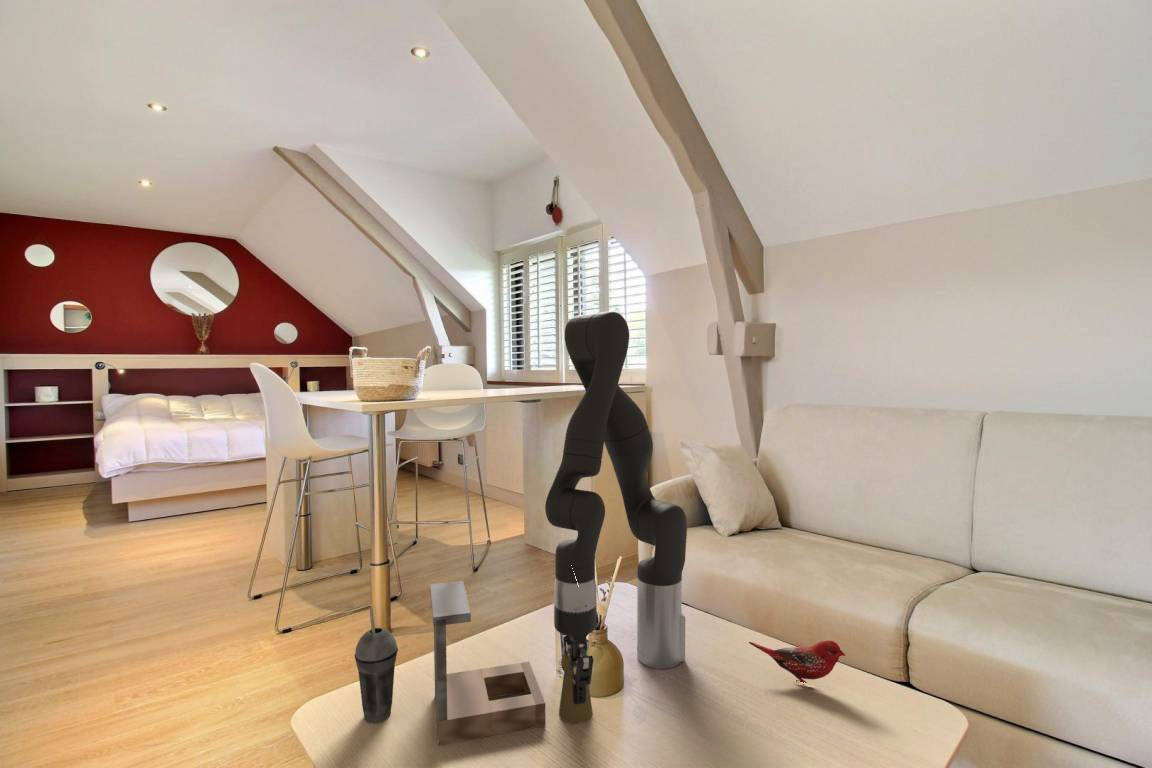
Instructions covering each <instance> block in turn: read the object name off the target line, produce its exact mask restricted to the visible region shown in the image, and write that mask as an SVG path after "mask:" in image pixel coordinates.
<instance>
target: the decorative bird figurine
mask: <svg viewBox="0 0 1152 768" xmlns="http://www.w3.org/2000/svg"><path fill="white" fill-rule="evenodd" d="M748 644H749V645H752V646H753V647H754V648H756V649H758V650H759V651H761V652H763V653H765V654H767V655H768V656H770V658H771V659H772V660H774V661H775V663H776V664H777V665H778V666H779V667H780V668H782V669H784V670H785V671H787V672H788V673H790V674H792V675H793V676H794V677H795V678H796V679H795V680H796V682H797V681H800V682H803V683H804V682H805V683H808V682H807V681H806V680H818V679H822V678H824V677H826V676H828V675H829V674H830V673H831V672H832V671H833V669H834V668H835V666H836V664H837V663H838V662H839V659H840V657H843V656H844V657H847V655H846V654H845V653H844V652H843V650H842V649H841V647H840V646H839V644H838V643H837V642H836V641H834V640H824V641H820V642H818V643H817V644H814V645H812V646H805V647H804V646H801V647H799V646H798V647H795V646H793V647H784V648H779V649H771V648H768V647H766V646H763V645H760V644H757V643H755V642H751V641H748Z"/></svg>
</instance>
